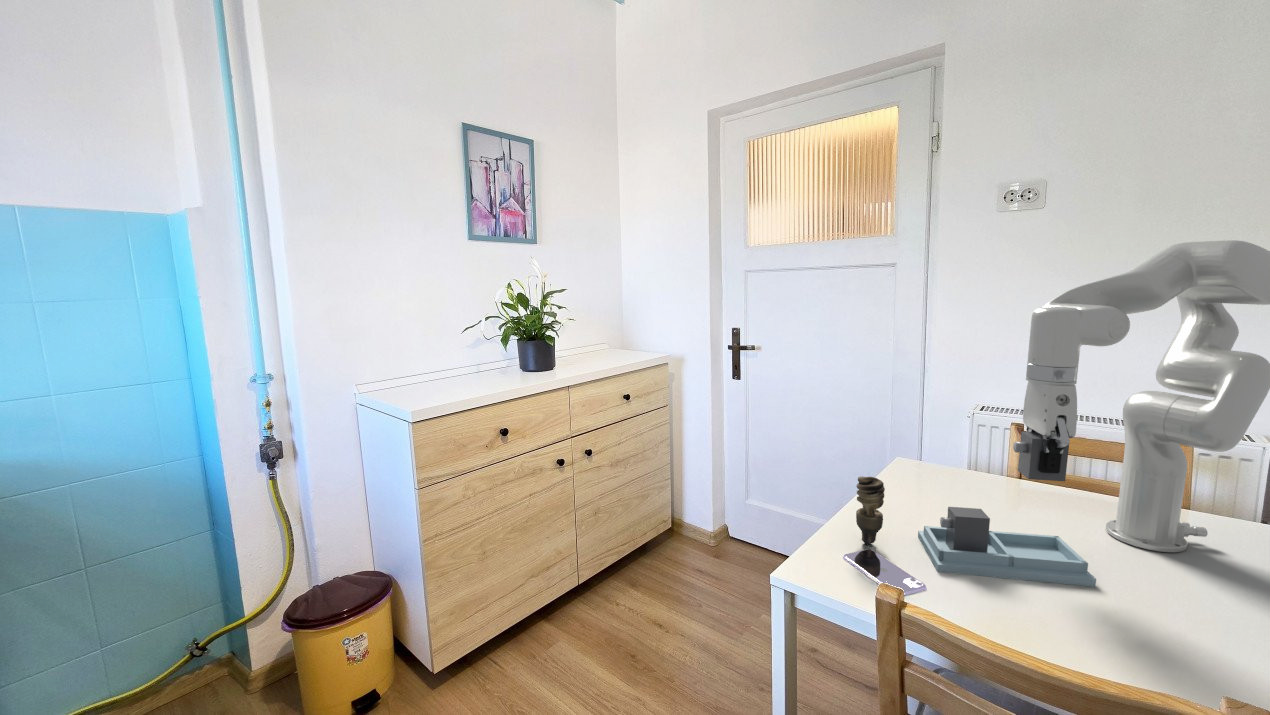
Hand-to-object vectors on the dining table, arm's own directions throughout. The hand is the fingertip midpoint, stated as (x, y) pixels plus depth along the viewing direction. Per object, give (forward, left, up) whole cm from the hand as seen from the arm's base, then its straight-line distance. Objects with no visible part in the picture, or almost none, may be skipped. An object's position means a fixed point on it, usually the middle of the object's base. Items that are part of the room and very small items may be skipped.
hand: (1041, 466), depth 103 cm
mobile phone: (+29, +9, -20) cm, 37 cm away
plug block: (0, 0, -2) cm, 2 cm away
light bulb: (+30, -2, -20) cm, 36 cm away
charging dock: (+6, 0, -20) cm, 21 cm away
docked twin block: (+13, 0, -18) cm, 22 cm away
